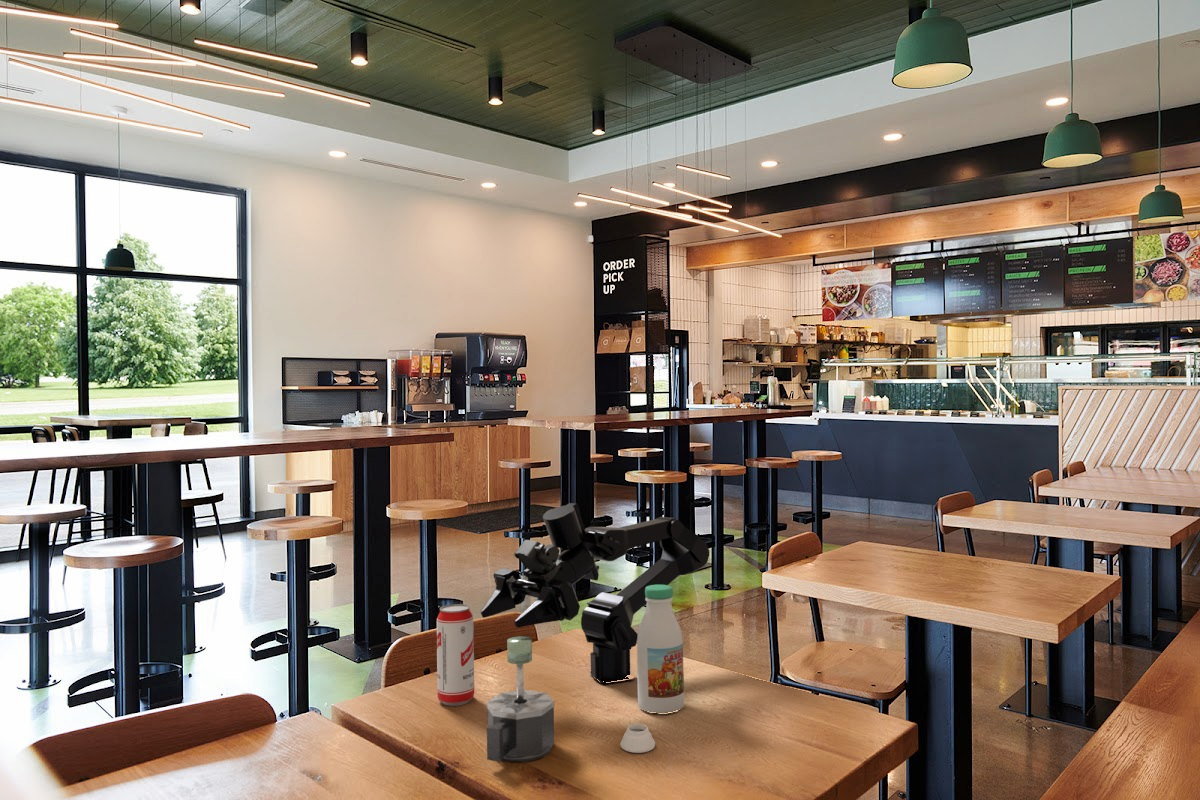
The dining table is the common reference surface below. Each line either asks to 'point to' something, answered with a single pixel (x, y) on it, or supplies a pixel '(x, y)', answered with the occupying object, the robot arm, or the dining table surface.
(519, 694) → the plunger
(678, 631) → the milk bottle
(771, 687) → the dining table surface
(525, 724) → the grey octagonal canister
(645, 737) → the white jar
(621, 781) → the dining table surface
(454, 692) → the beer can
